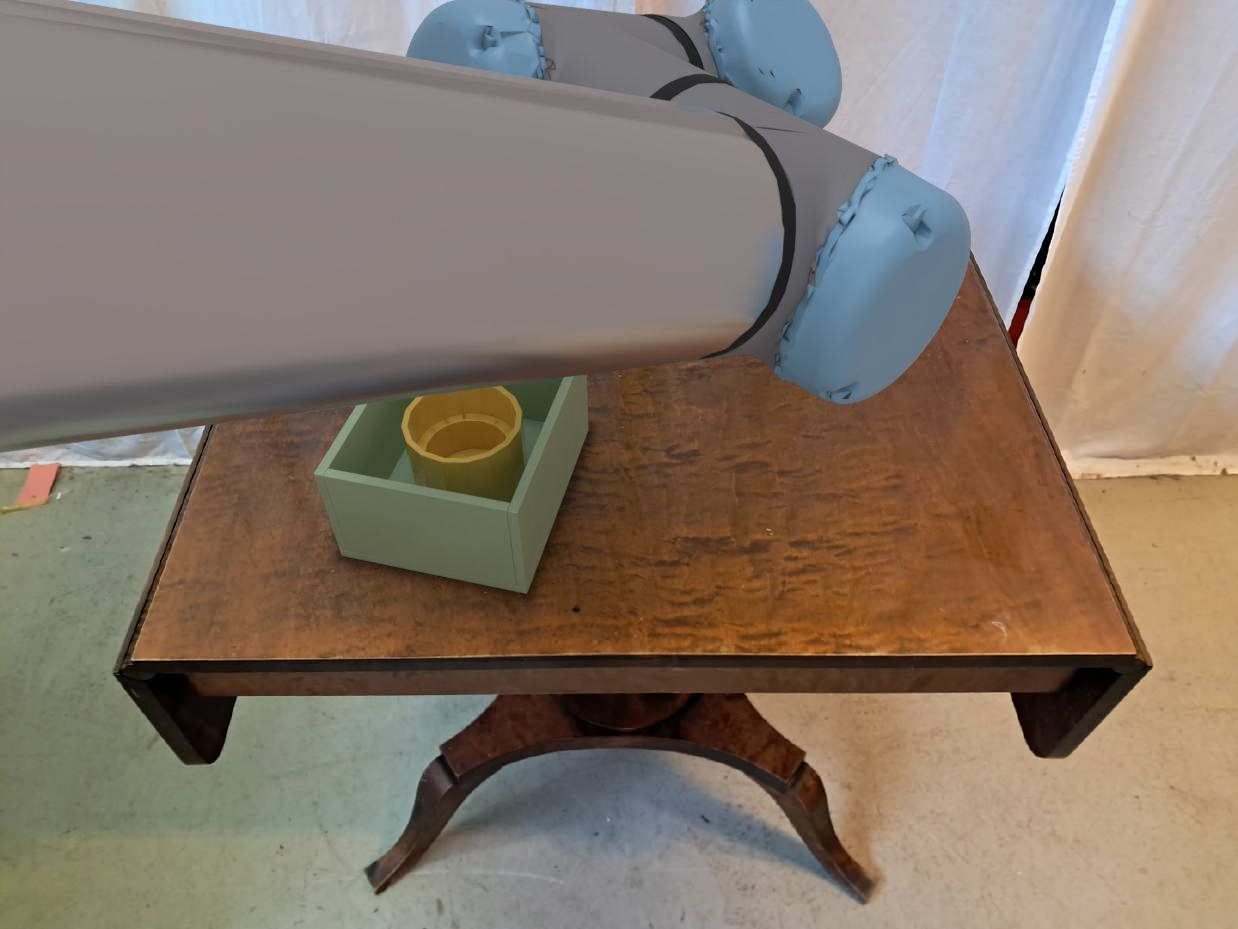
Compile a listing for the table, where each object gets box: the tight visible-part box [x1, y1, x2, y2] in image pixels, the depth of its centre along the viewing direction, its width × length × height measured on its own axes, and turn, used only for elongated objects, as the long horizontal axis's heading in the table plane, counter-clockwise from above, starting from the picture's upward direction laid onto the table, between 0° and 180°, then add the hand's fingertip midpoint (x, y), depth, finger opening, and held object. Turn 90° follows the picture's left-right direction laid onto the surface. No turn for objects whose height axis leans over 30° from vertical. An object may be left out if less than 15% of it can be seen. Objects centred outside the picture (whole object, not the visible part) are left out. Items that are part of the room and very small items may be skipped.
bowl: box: [401, 386, 527, 503], centre depth 77 cm, size 9×9×8 cm
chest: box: [313, 374, 589, 595], centre depth 77 cm, size 19×16×10 cm
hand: (419, 321), depth 69 cm, fingers open, 13 cm apart
